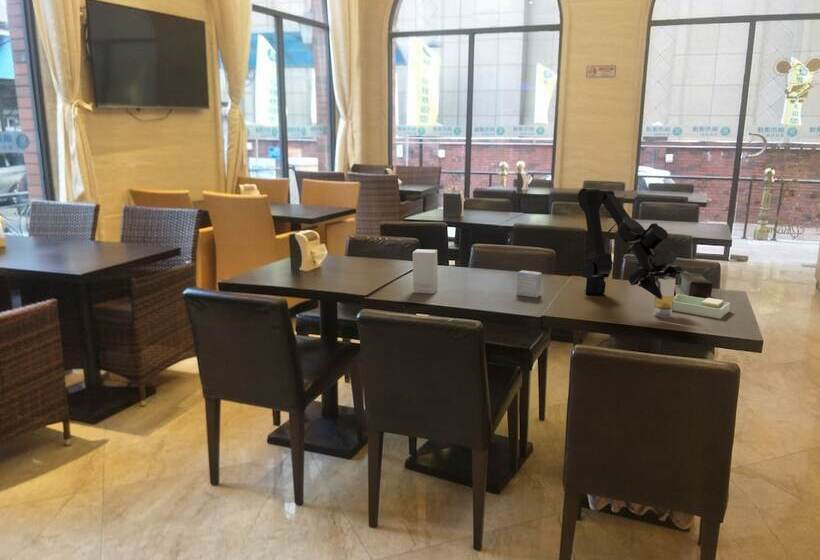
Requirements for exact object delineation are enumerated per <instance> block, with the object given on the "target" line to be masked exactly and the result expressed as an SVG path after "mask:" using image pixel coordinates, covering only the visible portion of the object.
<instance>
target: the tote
mask: <svg viewBox="0 0 820 560" xmlns="http://www.w3.org/2000/svg"><path fill="white" fill-rule="evenodd" d="M705 299H706V298H699V297H692V296H687V295H686V294H685V295H684V294H680V293H676V296H675V297H674V302H673V309H672V311H674V312H680V313H686V314H691V315H692V314H693V315H697V316H701V317H702V316H703V317H709V318H714V319H720V320H721V319H722V318H724V317H725V316H726V315H727V314H728V313H730V306H731V302H727V301H724V304H723V307H722V308H721V309H717V308H711V307H705V306H701V304H702V301H704V300H705Z"/></svg>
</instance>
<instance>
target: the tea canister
mask: <svg viewBox="0 0 820 560" xmlns="http://www.w3.org/2000/svg"><path fill="white" fill-rule="evenodd" d="M676 280H677V279H676V278H672V277H665V276H660V277H656V282H655V283H656V285H657V287H658V289H659V291H660V293H661V296H662V298H660V299H659V298H657V297H656V296H655V295H654V300H653V316H654V317H655V318H660V319H670V318H672V316H673V310H672V309H673V302H674V290H675V291H676Z"/></svg>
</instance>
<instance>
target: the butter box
mask: <svg viewBox="0 0 820 560" xmlns="http://www.w3.org/2000/svg"><path fill="white" fill-rule="evenodd" d="M704 299H705V300H704V301H702V304H701V306H705V307H711V308H717V309H721V308H722V307H723V304H724V302H725V301H724V299H717V298H713V297H711V298H704Z"/></svg>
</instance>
